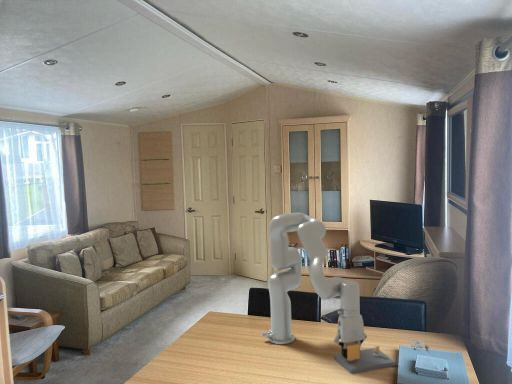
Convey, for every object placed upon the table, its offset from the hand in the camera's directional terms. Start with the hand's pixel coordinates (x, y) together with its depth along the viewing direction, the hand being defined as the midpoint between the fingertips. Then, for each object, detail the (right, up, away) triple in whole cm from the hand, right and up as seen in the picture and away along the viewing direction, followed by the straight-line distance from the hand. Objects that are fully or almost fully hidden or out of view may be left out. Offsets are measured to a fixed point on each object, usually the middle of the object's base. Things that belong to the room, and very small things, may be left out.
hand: (350, 355), depth 165 cm
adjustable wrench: (+33, -3, +6) cm, 33 cm away
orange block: (0, 0, 0) cm, 0 cm away
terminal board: (+6, -3, +2) cm, 7 cm away
